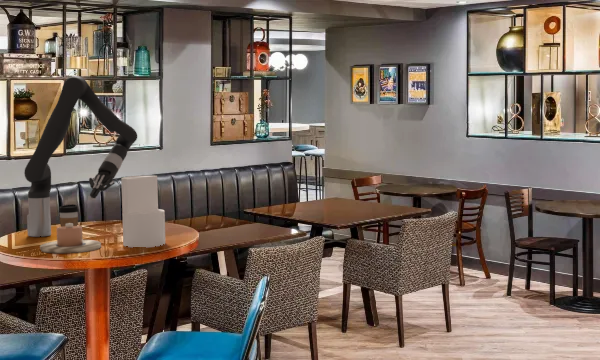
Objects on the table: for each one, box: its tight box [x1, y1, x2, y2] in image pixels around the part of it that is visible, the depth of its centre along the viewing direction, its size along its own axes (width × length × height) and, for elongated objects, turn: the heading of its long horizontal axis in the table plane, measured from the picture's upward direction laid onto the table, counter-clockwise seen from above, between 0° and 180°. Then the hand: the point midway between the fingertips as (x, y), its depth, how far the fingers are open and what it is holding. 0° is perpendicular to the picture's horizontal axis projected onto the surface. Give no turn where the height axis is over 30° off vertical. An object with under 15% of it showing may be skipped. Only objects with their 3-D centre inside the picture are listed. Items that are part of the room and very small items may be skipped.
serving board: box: [39, 239, 102, 254], centre depth 340 cm, size 24×24×2 cm
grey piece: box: [120, 175, 166, 248], centre depth 347 cm, size 17×17×28 cm
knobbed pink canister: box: [56, 223, 84, 247], centre depth 339 cm, size 10×10×9 cm
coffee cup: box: [58, 204, 79, 227], centre depth 360 cm, size 8×8×15 cm
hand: (92, 196), depth 351 cm, fingers closed
